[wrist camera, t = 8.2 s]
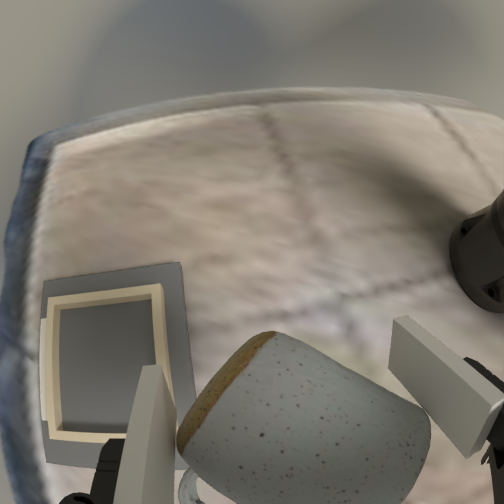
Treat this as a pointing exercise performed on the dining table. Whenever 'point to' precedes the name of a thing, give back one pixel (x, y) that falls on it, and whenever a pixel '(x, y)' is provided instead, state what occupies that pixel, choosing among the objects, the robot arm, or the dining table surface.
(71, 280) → the charcoal pocket board
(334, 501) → the ceramic mug
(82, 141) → the dining table surface
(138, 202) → the dining table surface
